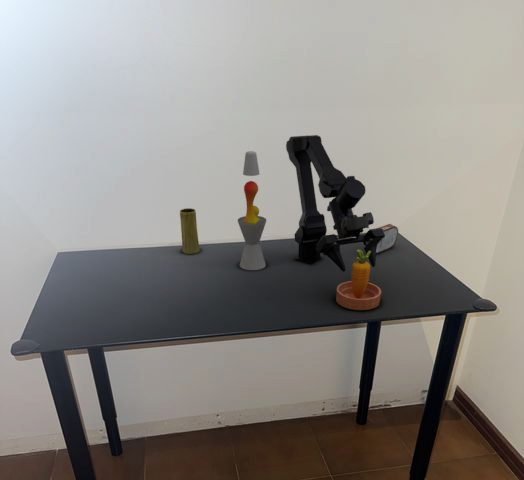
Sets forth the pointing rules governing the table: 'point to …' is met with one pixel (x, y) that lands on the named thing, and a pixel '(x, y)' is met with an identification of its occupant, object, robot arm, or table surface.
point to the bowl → (349, 301)
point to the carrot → (360, 274)
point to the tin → (387, 238)
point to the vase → (189, 231)
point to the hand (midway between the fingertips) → (359, 268)
